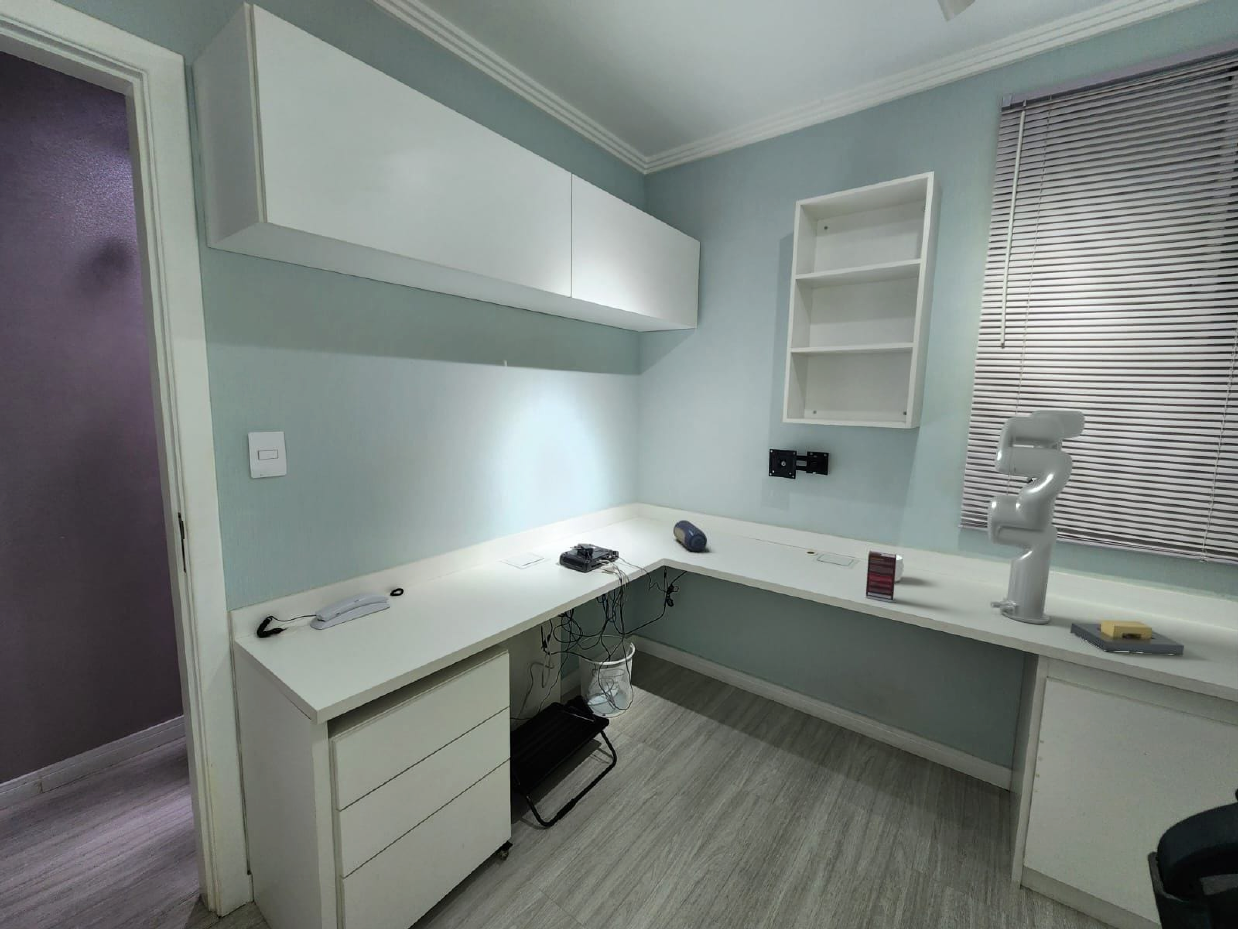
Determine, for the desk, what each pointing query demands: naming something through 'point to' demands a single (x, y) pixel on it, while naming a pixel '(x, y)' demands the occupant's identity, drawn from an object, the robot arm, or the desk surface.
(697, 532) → the portable speaker
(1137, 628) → the yellow u-shaped block
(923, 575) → the desk surface
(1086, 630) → the grey slotted board
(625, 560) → the desk surface
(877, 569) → the supplement box
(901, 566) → the mug
